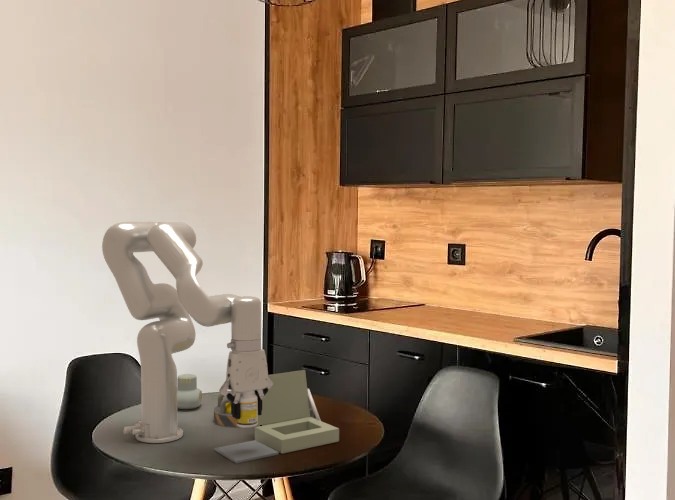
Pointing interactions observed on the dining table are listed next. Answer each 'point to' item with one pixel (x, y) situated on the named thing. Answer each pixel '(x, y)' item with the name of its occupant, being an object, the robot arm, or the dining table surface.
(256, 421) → the supplement bottle
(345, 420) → the dining table surface
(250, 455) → the slate pad
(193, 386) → the air freshener
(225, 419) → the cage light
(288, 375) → the equipment case
